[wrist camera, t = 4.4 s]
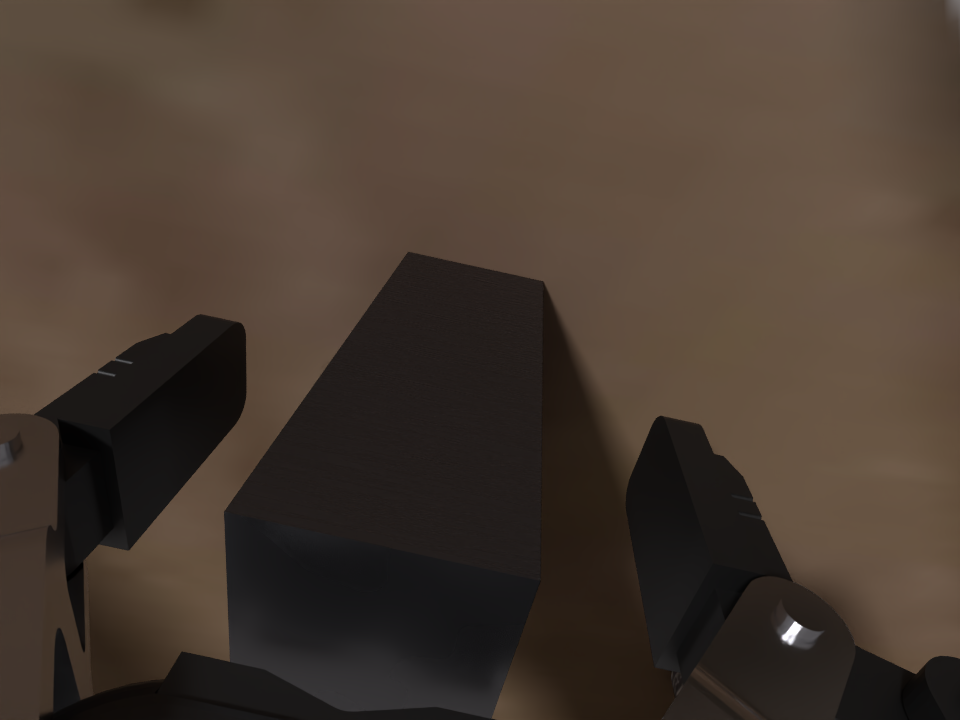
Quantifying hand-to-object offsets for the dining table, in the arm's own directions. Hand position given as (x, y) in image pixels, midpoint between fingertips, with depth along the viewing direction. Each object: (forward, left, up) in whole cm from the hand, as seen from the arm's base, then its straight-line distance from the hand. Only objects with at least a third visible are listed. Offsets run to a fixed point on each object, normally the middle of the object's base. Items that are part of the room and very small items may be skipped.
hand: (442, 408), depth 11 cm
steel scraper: (+7, 0, -3) cm, 7 cm away
